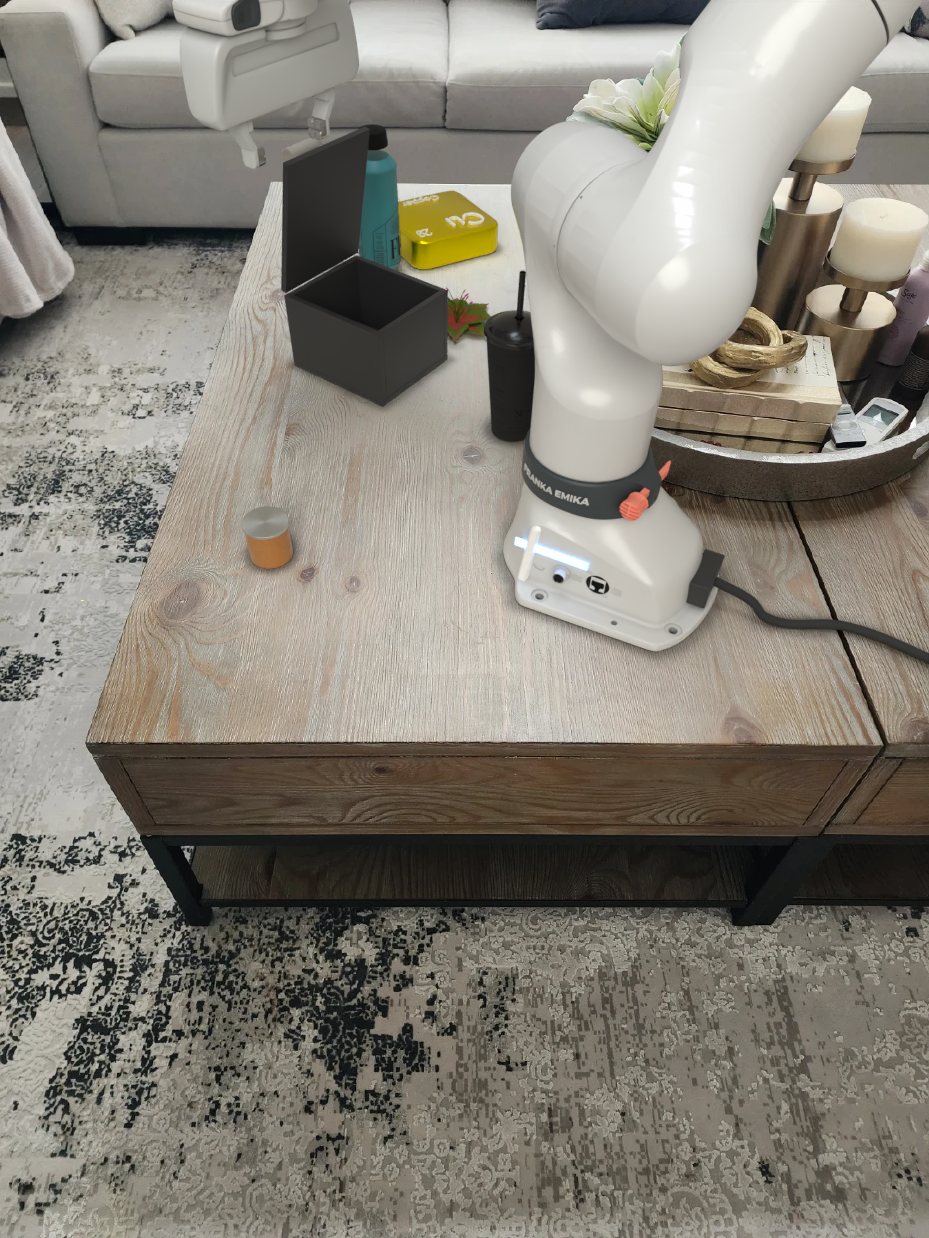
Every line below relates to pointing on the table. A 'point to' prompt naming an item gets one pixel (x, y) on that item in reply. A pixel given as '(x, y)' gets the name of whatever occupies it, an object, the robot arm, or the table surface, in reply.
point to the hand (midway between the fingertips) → (288, 151)
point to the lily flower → (465, 317)
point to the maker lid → (321, 205)
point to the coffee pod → (268, 536)
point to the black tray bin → (368, 328)
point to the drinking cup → (511, 370)
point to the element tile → (444, 230)
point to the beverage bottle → (380, 204)
